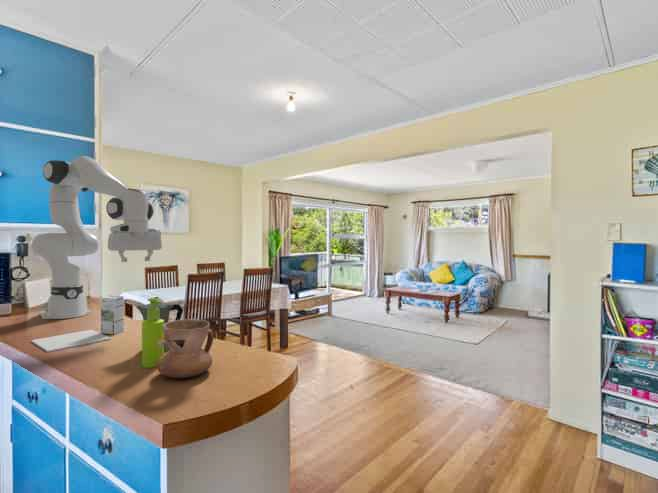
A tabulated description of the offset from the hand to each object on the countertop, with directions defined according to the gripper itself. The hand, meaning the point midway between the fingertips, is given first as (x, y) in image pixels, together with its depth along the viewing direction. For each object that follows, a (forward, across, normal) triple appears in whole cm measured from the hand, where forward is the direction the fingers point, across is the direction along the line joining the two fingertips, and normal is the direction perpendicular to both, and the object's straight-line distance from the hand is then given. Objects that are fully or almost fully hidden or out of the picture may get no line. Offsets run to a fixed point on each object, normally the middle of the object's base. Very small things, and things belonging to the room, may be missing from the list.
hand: (136, 261), depth 144 cm
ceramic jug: (+29, +13, +59) cm, 67 cm away
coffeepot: (+28, +8, +34) cm, 45 cm away
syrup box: (+28, +9, 0) cm, 29 cm away
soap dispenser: (+29, +16, +46) cm, 56 cm away
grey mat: (+28, +22, 0) cm, 36 cm away
